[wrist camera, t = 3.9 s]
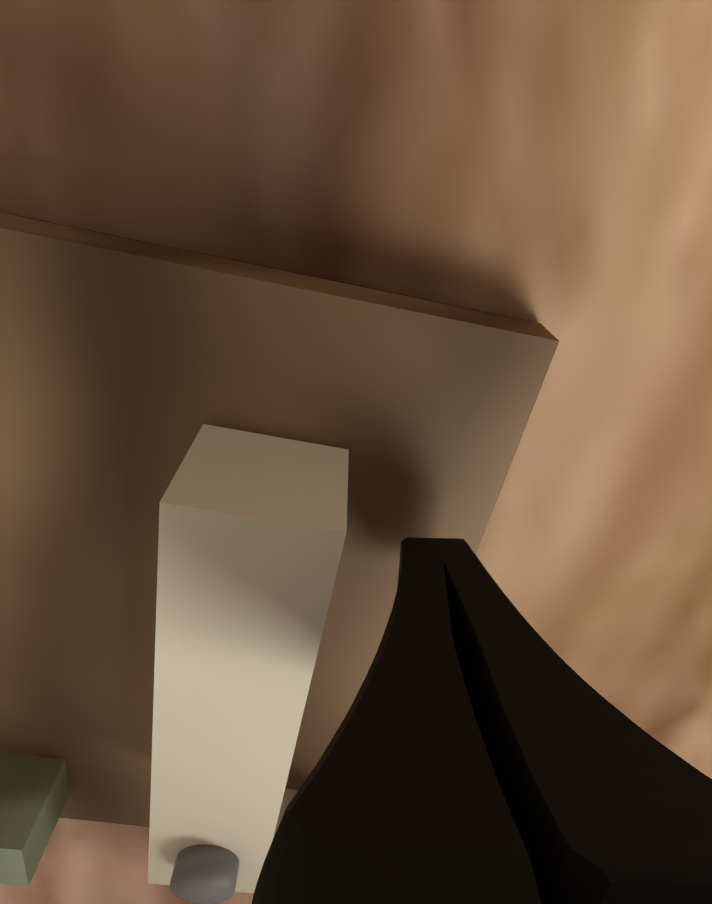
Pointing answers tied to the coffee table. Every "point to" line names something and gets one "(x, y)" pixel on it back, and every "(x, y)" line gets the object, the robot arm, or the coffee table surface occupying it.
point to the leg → (236, 647)
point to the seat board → (161, 453)
